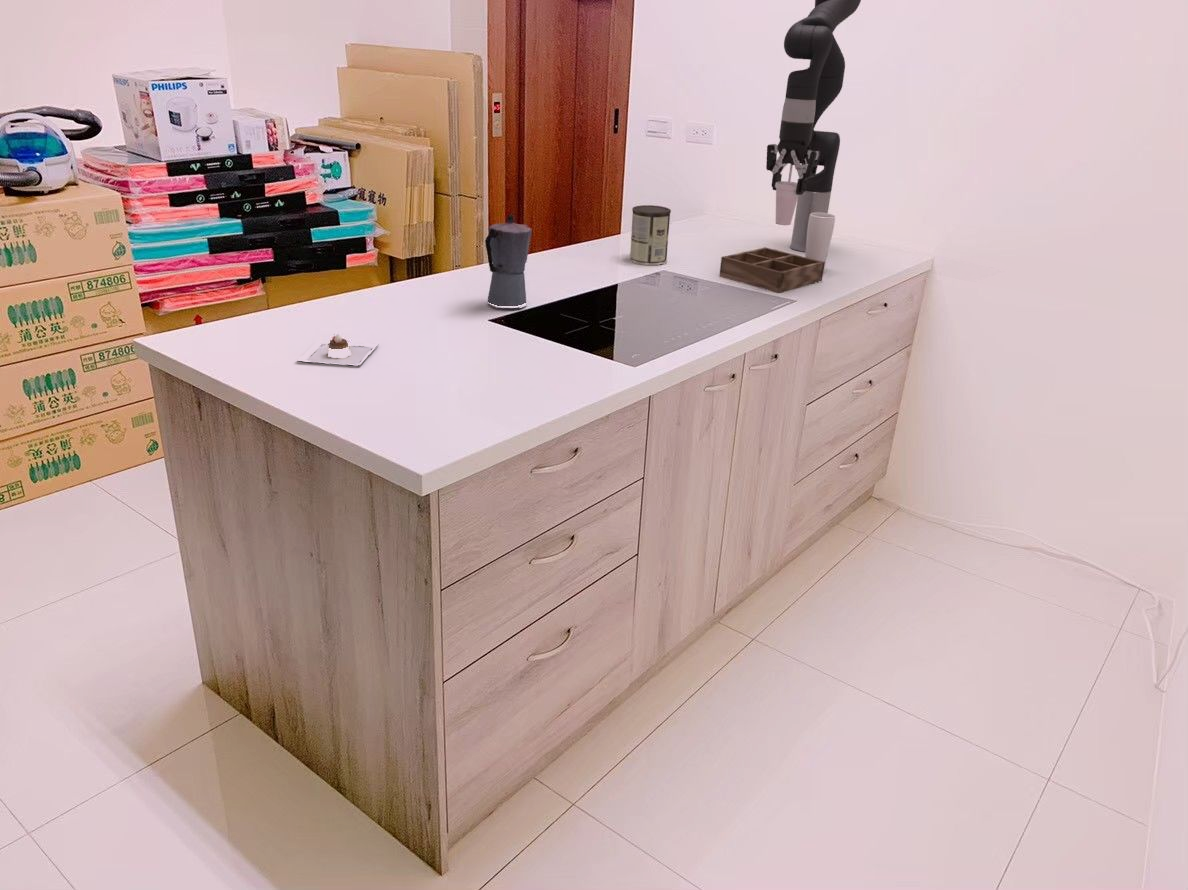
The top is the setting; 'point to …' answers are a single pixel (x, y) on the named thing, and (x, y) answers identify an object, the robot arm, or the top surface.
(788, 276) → the bottle crate
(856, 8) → the robot arm
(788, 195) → the smoothie
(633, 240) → the coffee can
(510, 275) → the moka pot
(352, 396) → the top surface
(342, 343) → the dessert
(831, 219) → the drinking glass
